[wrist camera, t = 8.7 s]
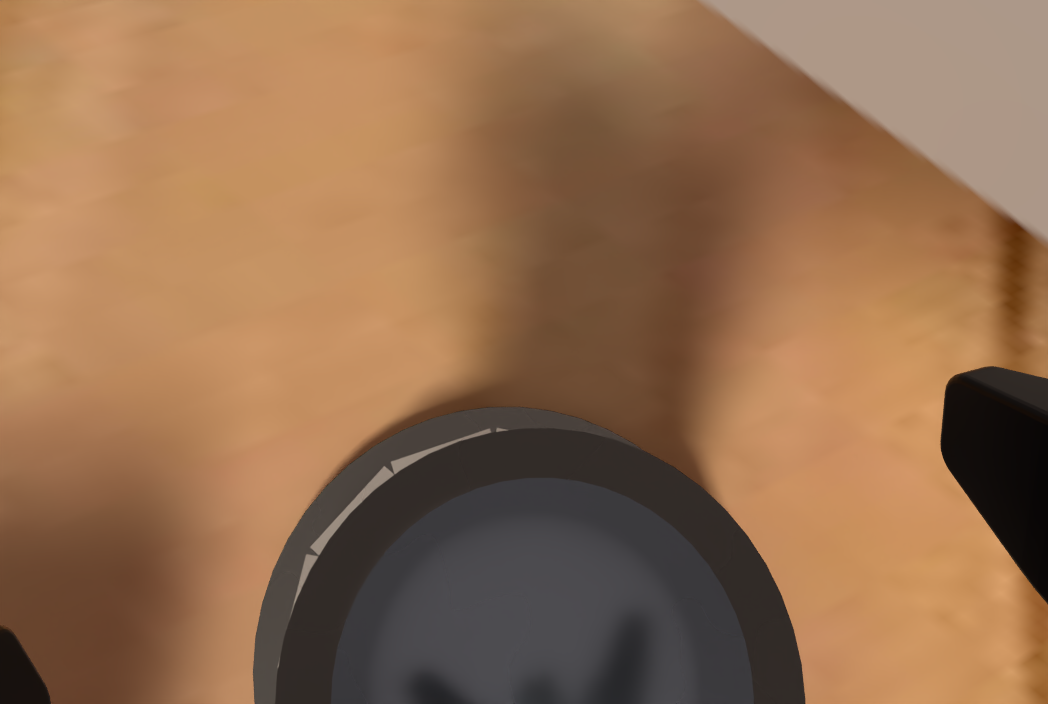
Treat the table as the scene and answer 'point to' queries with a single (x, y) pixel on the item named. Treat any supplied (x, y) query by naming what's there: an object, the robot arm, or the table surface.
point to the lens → (539, 587)
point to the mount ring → (353, 490)
